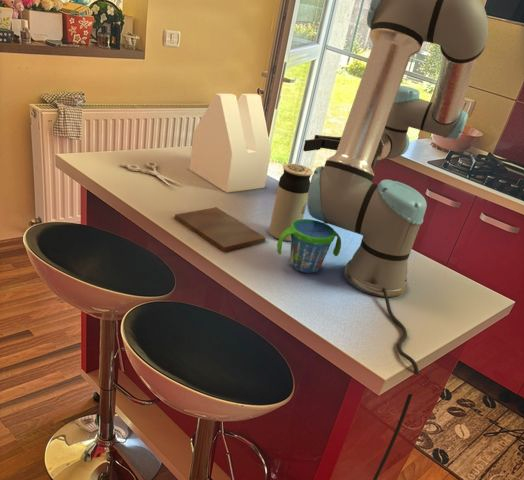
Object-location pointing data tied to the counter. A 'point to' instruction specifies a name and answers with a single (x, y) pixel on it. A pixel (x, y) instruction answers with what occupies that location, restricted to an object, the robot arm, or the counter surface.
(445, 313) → the counter surface
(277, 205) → the travel mug
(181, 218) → the walnut board
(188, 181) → the counter surface
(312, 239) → the snack cup
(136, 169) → the scissors
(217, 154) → the white slotted tapered block
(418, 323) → the counter surface
